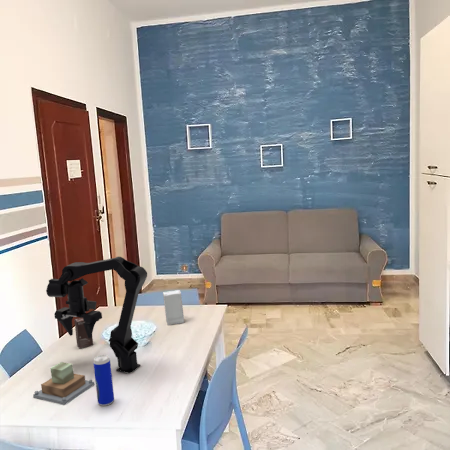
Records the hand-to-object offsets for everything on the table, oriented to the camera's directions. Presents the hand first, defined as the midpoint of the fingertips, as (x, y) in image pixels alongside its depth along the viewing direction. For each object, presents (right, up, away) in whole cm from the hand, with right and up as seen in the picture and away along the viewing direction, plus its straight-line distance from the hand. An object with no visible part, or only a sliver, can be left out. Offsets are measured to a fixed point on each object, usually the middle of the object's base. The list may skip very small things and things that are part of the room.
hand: (80, 336), depth 174 cm
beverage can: (+16, -15, -26) cm, 34 cm away
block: (-1, -11, -17) cm, 20 cm away
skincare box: (+31, -4, +43) cm, 53 cm away
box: (-5, -9, +22) cm, 25 cm away
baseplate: (0, -15, -16) cm, 22 cm away
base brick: (0, -15, -16) cm, 22 cm away
